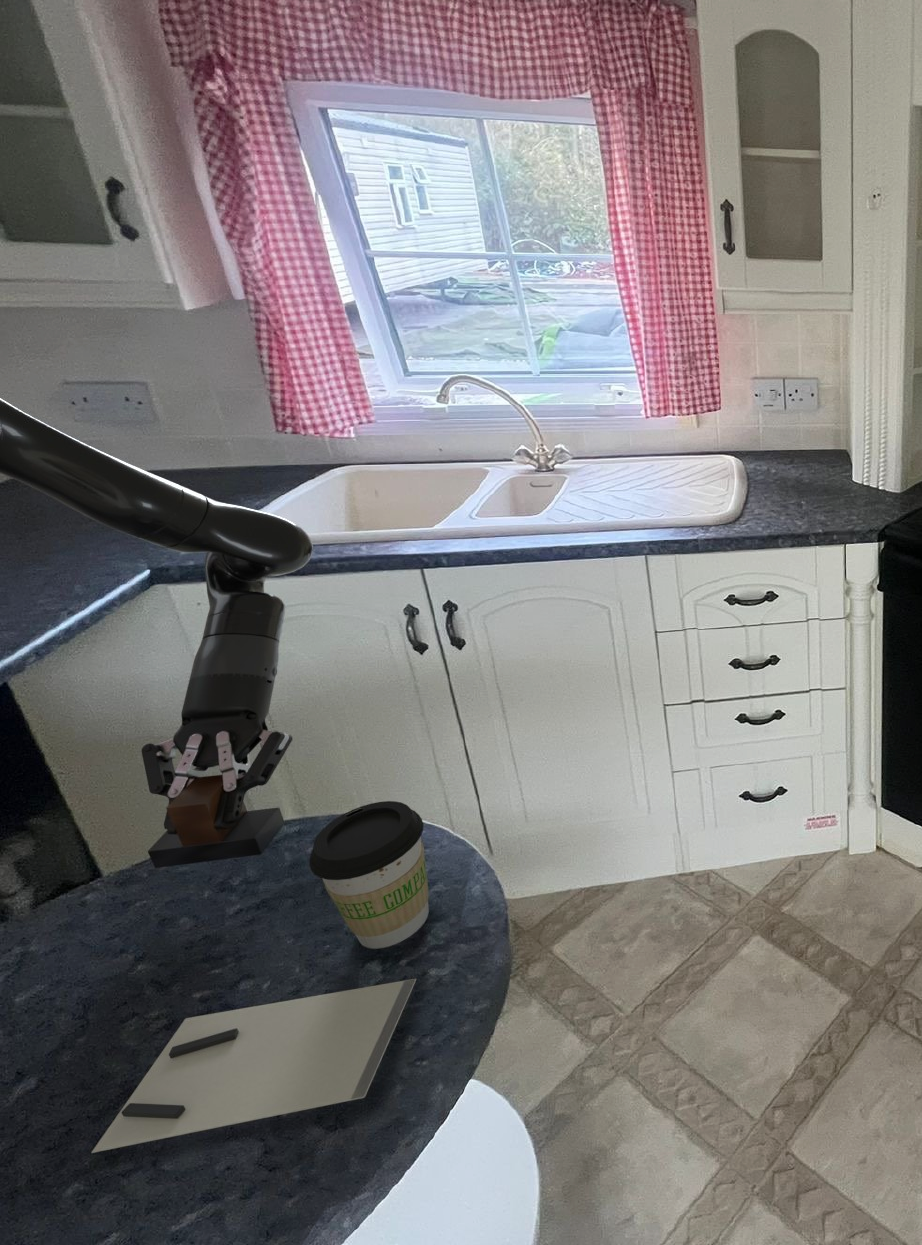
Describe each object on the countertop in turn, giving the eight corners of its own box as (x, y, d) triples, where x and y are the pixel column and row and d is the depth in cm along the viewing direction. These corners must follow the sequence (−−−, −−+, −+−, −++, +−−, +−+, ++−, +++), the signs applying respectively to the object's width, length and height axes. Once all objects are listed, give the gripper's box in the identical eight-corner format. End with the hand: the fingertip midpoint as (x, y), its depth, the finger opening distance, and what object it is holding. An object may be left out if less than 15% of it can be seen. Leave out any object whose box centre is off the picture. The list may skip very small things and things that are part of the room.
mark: (170, 1058, 72) (168, 1054, 71) (174, 1051, 72) (172, 1046, 72) (236, 1039, 74) (234, 1035, 73) (239, 1031, 74) (237, 1027, 74)
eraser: (154, 868, 85) (129, 811, 82) (184, 835, 90) (161, 780, 87) (261, 854, 88) (240, 799, 85) (285, 823, 92) (266, 769, 89)
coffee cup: (357, 989, 80) (317, 882, 75) (332, 934, 86) (293, 830, 80) (461, 930, 87) (433, 827, 82) (432, 882, 93) (403, 784, 87)
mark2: (123, 1116, 67) (120, 1112, 67) (132, 1106, 68) (129, 1102, 68) (177, 1119, 67) (175, 1114, 67) (186, 1109, 68) (184, 1104, 68)
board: (97, 1163, 65) (90, 1153, 64) (190, 1028, 76) (185, 1018, 75) (368, 1108, 70) (364, 1097, 69) (419, 988, 81) (416, 978, 80)
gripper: (137, 677, 87) (94, 839, 80) (284, 665, 90) (255, 820, 84) (183, 690, 93) (147, 841, 87) (319, 679, 97) (294, 823, 90)
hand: (200, 830), depth 85 cm, fingers closed on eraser, 3 cm apart
